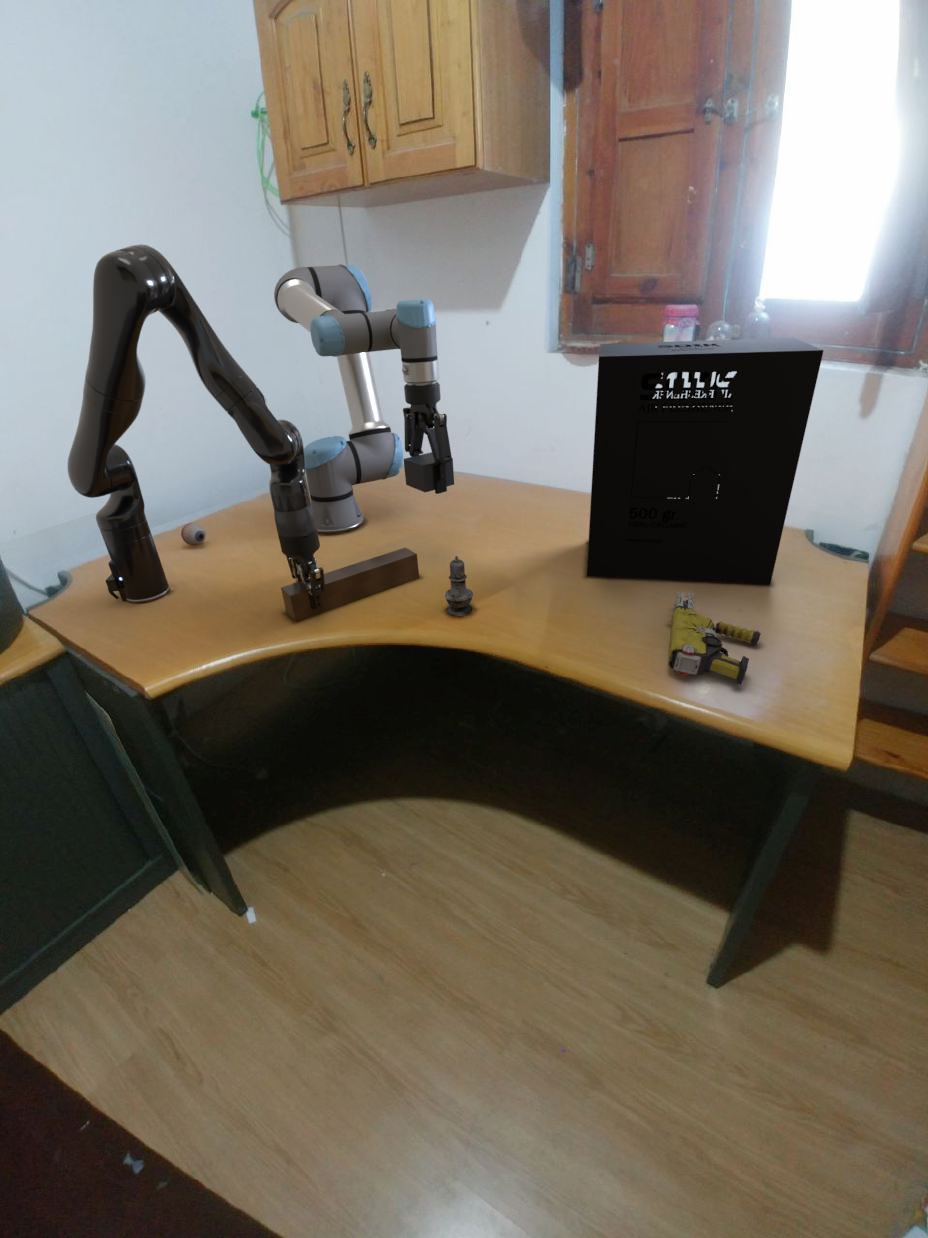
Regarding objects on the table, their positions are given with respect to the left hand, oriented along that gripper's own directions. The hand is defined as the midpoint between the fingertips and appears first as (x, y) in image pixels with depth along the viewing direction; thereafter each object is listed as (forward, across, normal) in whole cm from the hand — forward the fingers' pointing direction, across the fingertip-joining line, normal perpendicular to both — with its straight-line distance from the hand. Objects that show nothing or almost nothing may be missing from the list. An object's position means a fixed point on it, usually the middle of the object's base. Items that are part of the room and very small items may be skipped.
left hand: (312, 603), depth 126 cm
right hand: (-16, -4, +34) cm, 38 cm away
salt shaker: (+1, +21, +23) cm, 31 cm away
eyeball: (+1, -55, -9) cm, 56 cm away
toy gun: (+1, +62, +49) cm, 79 cm away
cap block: (-17, -4, +34) cm, 38 cm away
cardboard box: (+1, +35, +73) cm, 81 cm away
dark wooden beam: (+1, 0, +10) cm, 10 cm away
